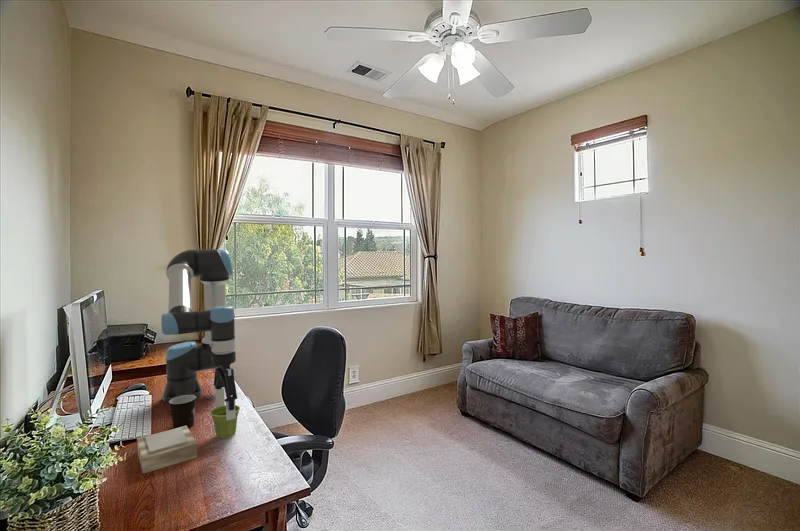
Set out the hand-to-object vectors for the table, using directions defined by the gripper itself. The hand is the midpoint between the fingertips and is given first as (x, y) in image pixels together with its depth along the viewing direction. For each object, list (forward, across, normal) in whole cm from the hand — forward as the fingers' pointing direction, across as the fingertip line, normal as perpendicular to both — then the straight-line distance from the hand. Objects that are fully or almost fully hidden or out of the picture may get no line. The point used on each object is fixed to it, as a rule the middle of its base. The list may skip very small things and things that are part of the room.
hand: (225, 413), depth 134 cm
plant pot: (+8, 0, 0) cm, 8 cm away
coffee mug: (+8, -18, -9) cm, 22 cm away
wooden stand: (+8, +2, -18) cm, 20 cm away
